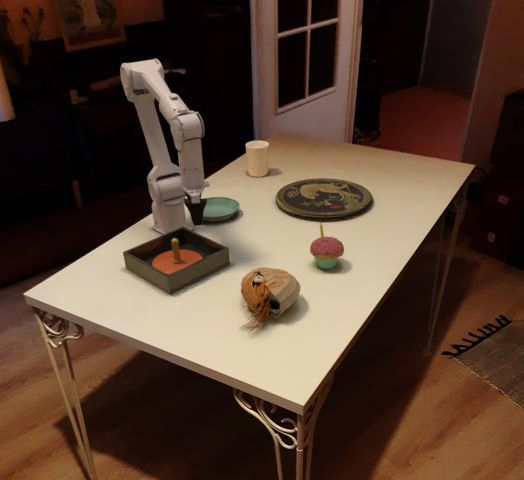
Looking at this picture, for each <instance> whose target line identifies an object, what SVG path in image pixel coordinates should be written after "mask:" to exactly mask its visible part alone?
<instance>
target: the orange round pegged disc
mask: <svg viewBox="0 0 524 480" xmlns="http://www.w3.org/2000/svg"><path fill="white" fill-rule="evenodd" d="M171 243H172V251H168V252H165V253H162V254H160V255H158V256H157V257H156V258H155V259H154V260H153V262H152V266H153V267H154V268H156V269H158V270H160V271H162V272H163V273H165V274H167V275H170V274H172V273H174V272H176V271H178V270H180V269H182V268H184V267H186V266H188V265H191V264H193V263H195V262H197V261H199V260H201V259H203V258H202V256H201V255H200V254H199V253H197V252H195V251H191V250H180V249H179V241H178V239H176V238H173V239H172V240H171Z"/></svg>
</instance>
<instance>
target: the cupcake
mask: <svg viewBox="0 0 524 480" xmlns="http://www.w3.org/2000/svg"><path fill="white" fill-rule="evenodd" d="M323 227H324V226H323V224H322V222H321V221H320V222H319V231H320V237H318V238H316V239H315V240H313V241H312V242H311V243H310V248H309V253H310V254H311V256H313V257H314V260H315V263H316V266H317V267H318V268H320V269H322V270H323V269H324V270H330V269H333V268H334V267H336V264H337V262H338V259H340V257H342V256H344V254H345V247H344V244H343V242H342V241H341V240H340V239H338V238H336V237H334V236H324V228H323Z"/></svg>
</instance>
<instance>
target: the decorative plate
mask: <svg viewBox="0 0 524 480" xmlns="http://www.w3.org/2000/svg"><path fill="white" fill-rule="evenodd" d="M373 199H374V198H373V195H372V193H371V192H370V191H369V190H368V188H366V187H364V186H362V185H360V184H358V183H356V182H352V181H350V180H345V179H338V178H325V177H324V178H317V177H316V178H307V179H301V180H297V181H294V182H291V183H288V184H286V185H284V186H283V187H281V188H280V189H279V190H278V191H277V193H276V196H275V204H276V206H277V207H278V208H279V209H280V210H281V211H282V212H284V213H286V214H289V215H290V216H293V217H296V218H300V219H303V220H304V219H305V220H311V221H338V220H345V219H350V218H351V219H352V218H354V217H357V216H360V215H362V214H363V213H366V212H367V211H368V210H369V209H371V206H372V205H373Z"/></svg>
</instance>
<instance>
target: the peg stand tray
mask: <svg viewBox="0 0 524 480" xmlns="http://www.w3.org/2000/svg"><path fill="white" fill-rule="evenodd" d="M173 238H176V239H178V241H179V249H180V250H191V251H195V252H197V253H199V254H200V255H201V256H202V258H203V259H201V260H199V261H197V262H195V263H193V264H191V265H188V266H186V267H184V268H182V269H180V270H178V271H176V272H174V273H172V274H170V275H167V274H165V273H163V272H162V271H160V270H158V269H156V268H154V267H153V266H152V262H153V260H154V259H155V258H156V257H157V256H158V255H160V254H162V253H165V252H168V251H172V243H171V240H172V239H173ZM122 255H123V259H124V261H123V262H124V267H125V269H126V270H127V271H128V272H129V271H130V272H131V273H133V274H134V275H137V277H139V278H141V279H143V280H145V281H146V282H148V283H150V284H151V285H153V286H154V287H157V289H160V290H162V291H163V292H165V293H167V294H168V295H172V294H174V293H176V292H179V291H181V290H183V289H185V288H187V287H188V286H191V285H192V284H195V283H196V282H199V281H201V280H202V279H204V278H207V277H209V276H210V275H213V274H214V273H216V272H218V271H220V270H223V269H225V268H226V267H228V266H230V265H231V257H230V256H231V255H230V248H229V247H227V246H226V245H224V244H221V243H219V242H217V241H214V240H213V239H211V238H209V237H207V236H204V235H203V234H200V233H198V232H196V231H194V230H189V229H187V228H185V227H181V228H178V229H176V230H174V231H171V232H169V233H167V234H162V235H159V236H158V237H157V236H156V237H155V238H153V239H150V240H149V241H146V242H145V241H144V242H143V243H141V244H139V245H136V246H133V247H131V248H129V249H126V250H125V251H122Z"/></svg>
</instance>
